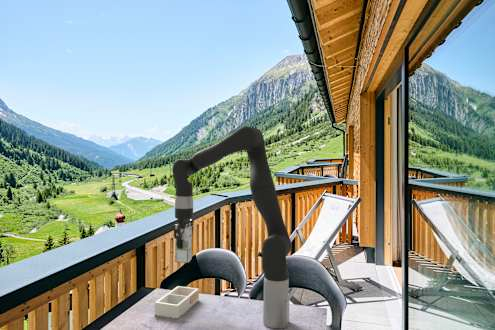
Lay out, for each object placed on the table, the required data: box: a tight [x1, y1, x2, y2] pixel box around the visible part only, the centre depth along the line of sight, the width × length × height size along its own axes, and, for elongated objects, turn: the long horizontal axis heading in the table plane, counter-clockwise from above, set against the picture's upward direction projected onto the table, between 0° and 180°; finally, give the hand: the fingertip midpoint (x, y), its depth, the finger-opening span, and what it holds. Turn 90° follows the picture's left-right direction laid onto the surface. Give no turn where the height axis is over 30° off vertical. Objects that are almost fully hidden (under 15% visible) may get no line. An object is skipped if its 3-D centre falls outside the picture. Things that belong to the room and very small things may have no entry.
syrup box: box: [174, 226, 193, 264], centre depth 152 cm, size 6×6×14 cm
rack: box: [154, 285, 200, 319], centre depth 148 cm, size 10×19×5 cm, turn 163°
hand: (183, 246), depth 152 cm, fingers closed on syrup box, 6 cm apart
